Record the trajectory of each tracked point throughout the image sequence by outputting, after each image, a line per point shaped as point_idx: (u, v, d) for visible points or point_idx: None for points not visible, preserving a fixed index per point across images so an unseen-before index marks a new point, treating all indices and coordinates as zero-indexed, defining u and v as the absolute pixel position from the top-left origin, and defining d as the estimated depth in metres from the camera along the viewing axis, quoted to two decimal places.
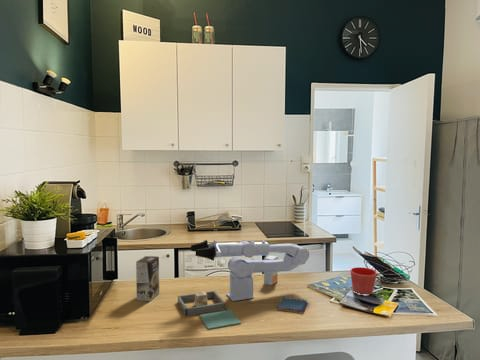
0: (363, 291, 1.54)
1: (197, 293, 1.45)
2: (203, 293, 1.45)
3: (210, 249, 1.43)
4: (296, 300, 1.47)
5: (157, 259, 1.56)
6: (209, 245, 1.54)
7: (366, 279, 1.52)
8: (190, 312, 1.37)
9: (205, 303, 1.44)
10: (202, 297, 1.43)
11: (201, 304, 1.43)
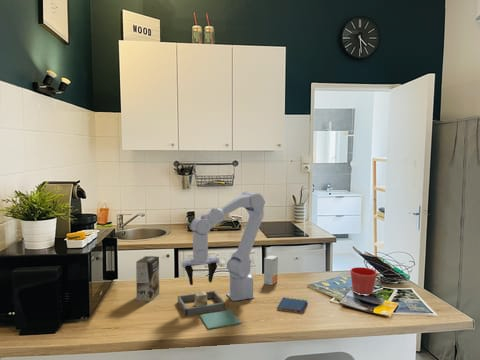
0: (363, 291, 1.54)
1: (197, 293, 1.45)
2: (203, 293, 1.45)
3: None
4: (296, 300, 1.47)
5: (157, 259, 1.56)
6: (186, 263, 1.42)
7: (366, 279, 1.52)
8: (190, 312, 1.37)
9: (205, 303, 1.44)
10: (202, 297, 1.43)
11: (201, 304, 1.43)
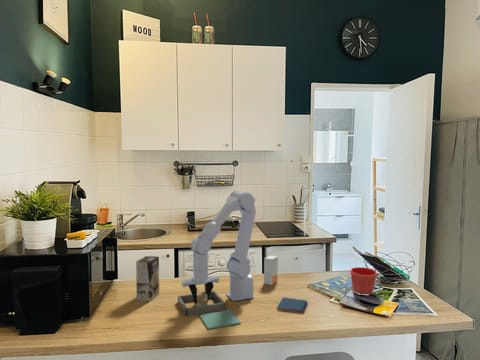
0: (363, 291, 1.54)
1: (197, 293, 1.45)
2: (203, 293, 1.45)
3: None
4: (296, 300, 1.47)
5: (157, 259, 1.56)
6: None
7: (366, 279, 1.52)
8: (190, 312, 1.37)
9: (205, 303, 1.44)
10: (202, 297, 1.43)
11: (201, 304, 1.43)
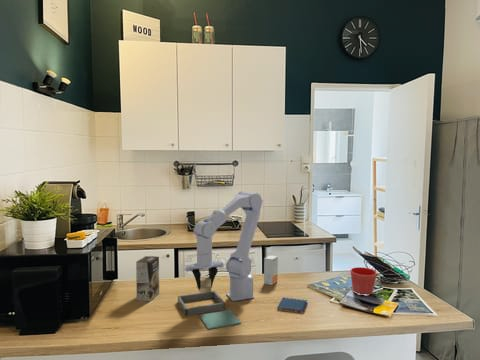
0: (363, 291, 1.54)
1: (201, 278, 1.42)
2: (207, 278, 1.42)
3: None
4: (296, 300, 1.47)
5: (157, 259, 1.56)
6: None
7: (366, 279, 1.52)
8: (190, 312, 1.37)
9: (209, 288, 1.41)
10: (206, 282, 1.40)
11: (205, 289, 1.40)
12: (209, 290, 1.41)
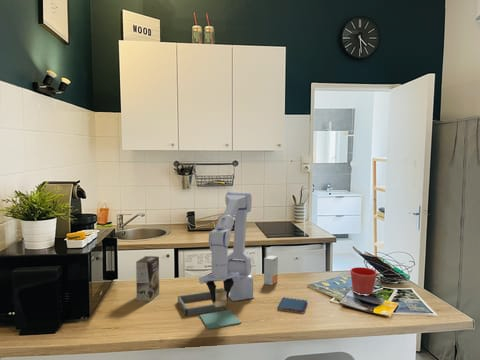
0: (363, 291, 1.54)
1: None
2: (222, 290, 1.33)
3: None
4: (296, 300, 1.47)
5: (157, 259, 1.56)
6: None
7: (366, 279, 1.52)
8: (190, 312, 1.37)
9: (224, 301, 1.31)
10: (221, 295, 1.31)
11: (220, 302, 1.31)
12: (224, 303, 1.32)
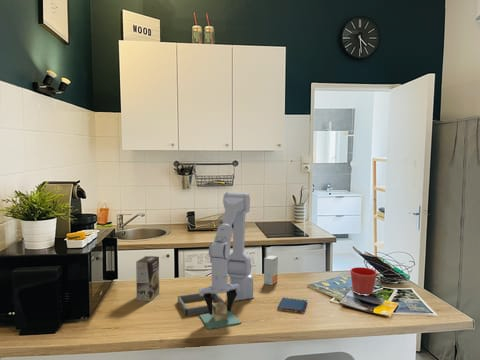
0: (363, 291, 1.54)
1: (215, 304, 1.33)
2: (222, 304, 1.33)
3: None
4: (296, 300, 1.47)
5: (157, 259, 1.56)
6: None
7: (366, 279, 1.52)
8: (190, 312, 1.37)
9: (224, 315, 1.32)
10: (221, 309, 1.31)
11: (220, 316, 1.31)
12: (224, 317, 1.32)
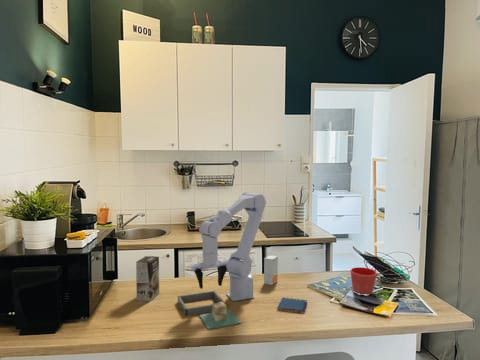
0: (363, 291, 1.54)
1: (215, 304, 1.33)
2: (222, 304, 1.33)
3: None
4: (296, 300, 1.47)
5: (157, 259, 1.56)
6: None
7: (366, 279, 1.52)
8: (190, 312, 1.37)
9: (224, 315, 1.32)
10: (221, 309, 1.31)
11: (220, 316, 1.31)
12: (224, 317, 1.32)
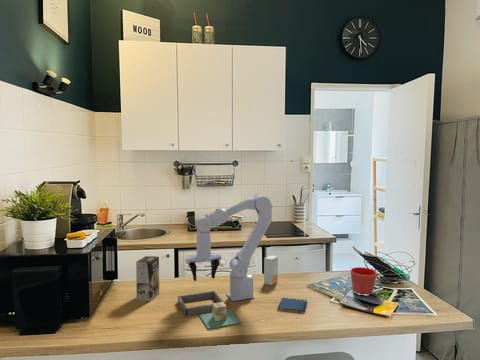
0: (363, 291, 1.54)
1: (215, 304, 1.33)
2: (222, 304, 1.33)
3: None
4: (296, 300, 1.47)
5: (157, 259, 1.56)
6: None
7: (366, 279, 1.52)
8: (190, 312, 1.37)
9: (224, 315, 1.32)
10: (221, 309, 1.31)
11: (220, 316, 1.31)
12: (224, 317, 1.32)
